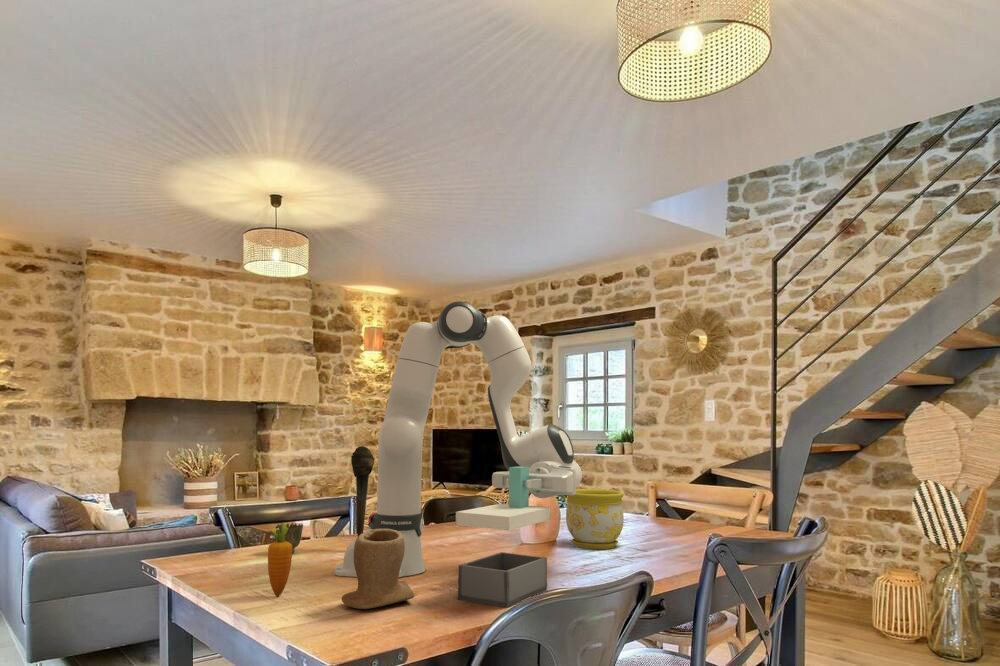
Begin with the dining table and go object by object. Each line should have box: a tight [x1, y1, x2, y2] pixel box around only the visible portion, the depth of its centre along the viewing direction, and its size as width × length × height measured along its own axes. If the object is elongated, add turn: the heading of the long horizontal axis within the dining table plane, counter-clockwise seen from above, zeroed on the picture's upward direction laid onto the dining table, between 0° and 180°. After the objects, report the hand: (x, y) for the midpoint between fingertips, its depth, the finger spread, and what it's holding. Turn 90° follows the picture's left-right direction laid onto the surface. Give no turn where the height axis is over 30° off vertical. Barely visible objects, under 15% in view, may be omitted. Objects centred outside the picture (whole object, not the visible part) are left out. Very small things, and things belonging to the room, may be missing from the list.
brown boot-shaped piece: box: [340, 529, 415, 610], centre depth 139 cm, size 15×12×15 cm
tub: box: [457, 551, 548, 609], centre depth 148 cm, size 18×12×7 cm, turn 149°
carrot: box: [267, 523, 293, 598], centre depth 144 cm, size 5×5×15 cm
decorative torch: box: [350, 445, 375, 537], centre depth 196 cm, size 7×7×30 cm
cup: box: [275, 523, 304, 555], centre depth 190 cm, size 8×7×8 cm
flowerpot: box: [565, 488, 625, 550], centre depth 209 cm, size 18×18×16 cm
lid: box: [455, 467, 552, 531], centre depth 150 cm, size 19×13×12 cm
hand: (517, 483), depth 155 cm, fingers closed on lid, 3 cm apart
